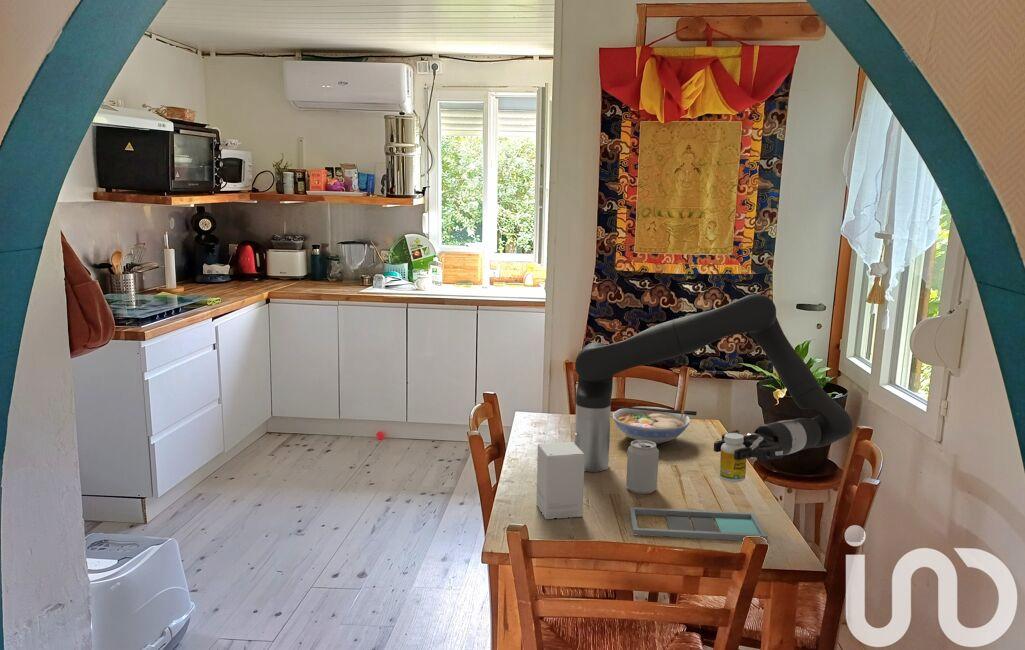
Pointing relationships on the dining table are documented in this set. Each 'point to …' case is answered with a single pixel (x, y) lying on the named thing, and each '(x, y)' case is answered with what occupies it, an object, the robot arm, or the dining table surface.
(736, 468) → the supplement bottle
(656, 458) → the can
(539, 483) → the supplement box
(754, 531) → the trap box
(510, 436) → the dining table surface
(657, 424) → the ramen bowl
